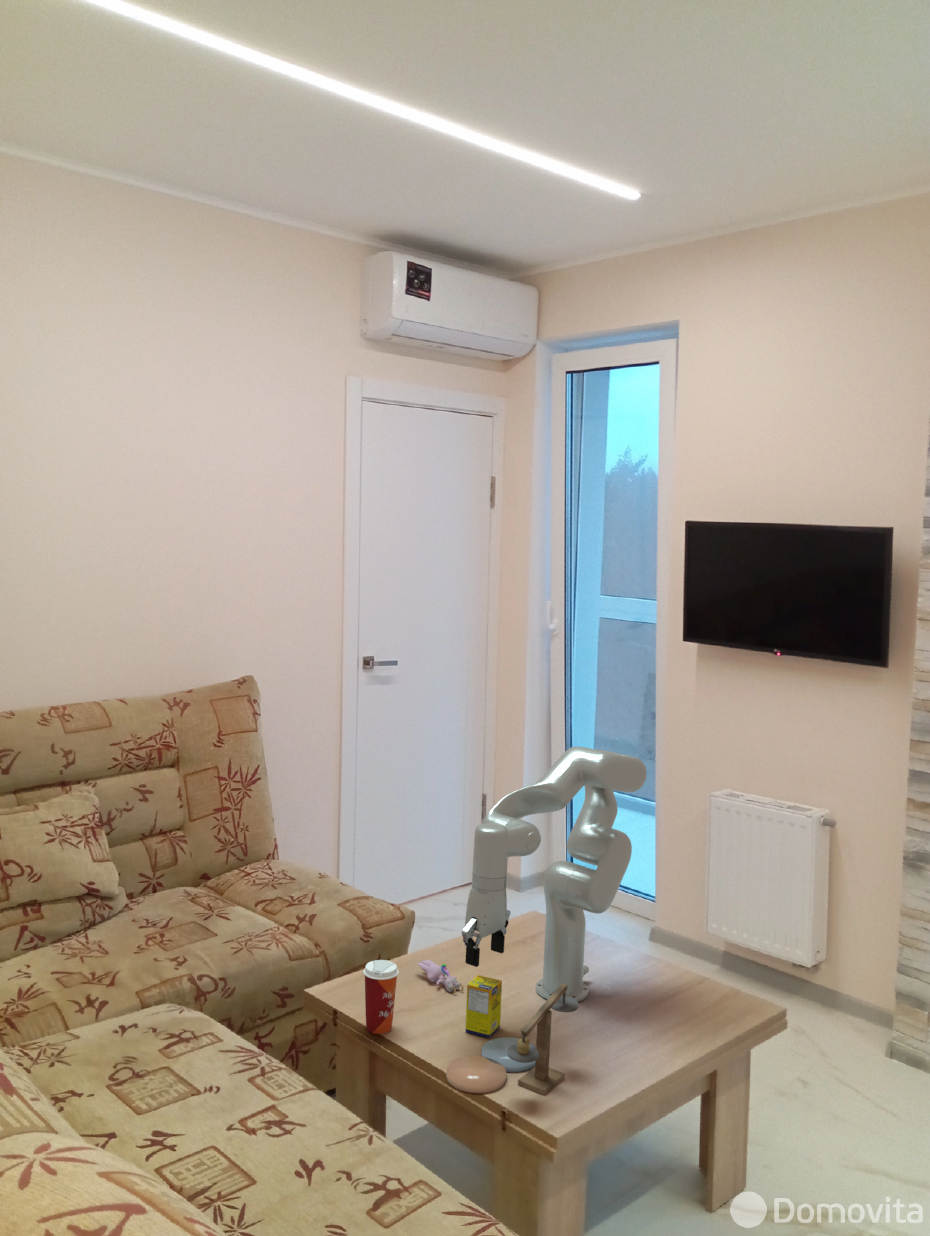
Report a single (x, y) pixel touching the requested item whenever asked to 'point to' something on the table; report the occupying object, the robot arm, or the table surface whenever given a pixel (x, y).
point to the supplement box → (483, 1006)
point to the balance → (541, 1044)
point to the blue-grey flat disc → (504, 1054)
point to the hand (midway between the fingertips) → (484, 958)
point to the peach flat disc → (476, 1074)
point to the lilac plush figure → (440, 975)
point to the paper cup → (380, 995)
